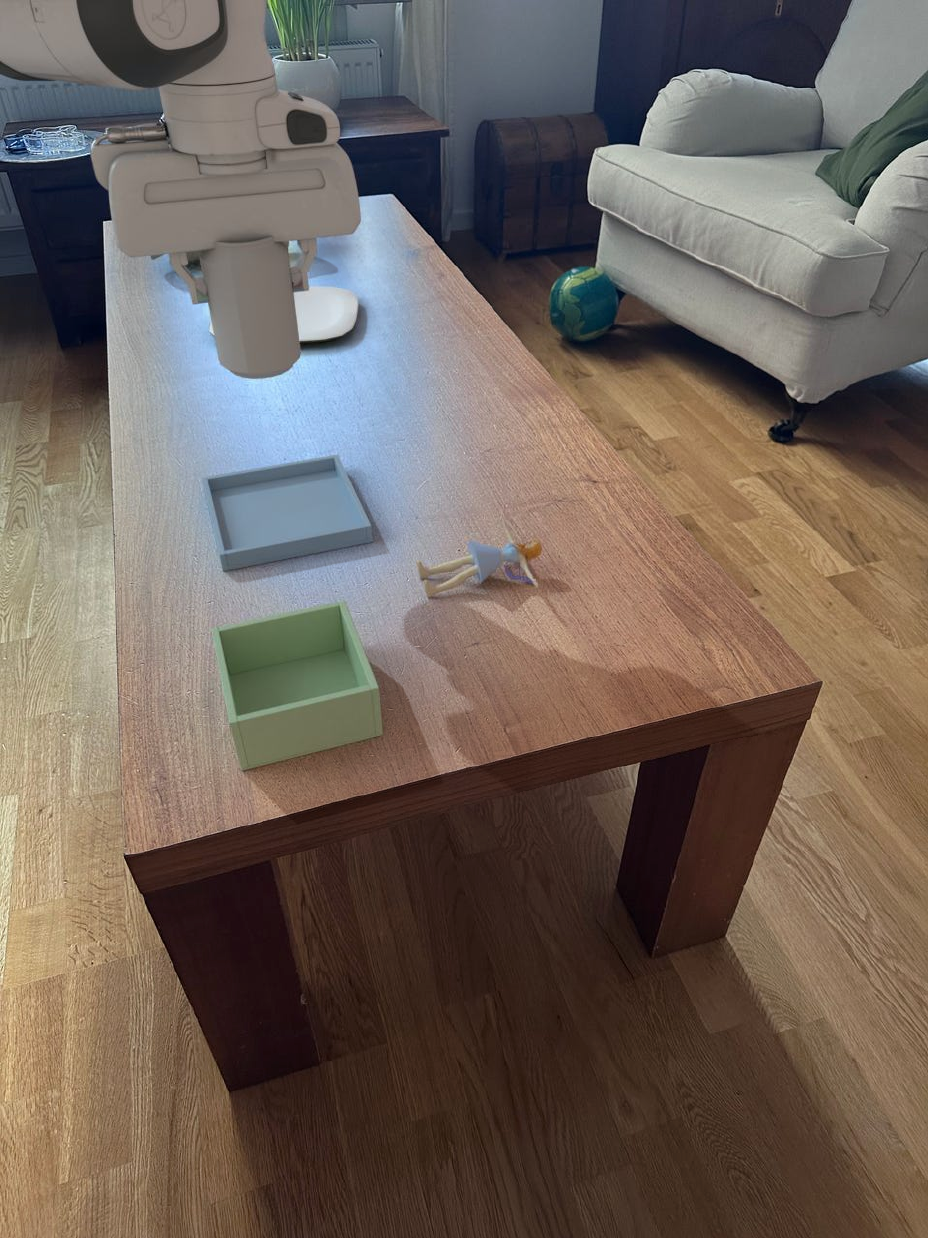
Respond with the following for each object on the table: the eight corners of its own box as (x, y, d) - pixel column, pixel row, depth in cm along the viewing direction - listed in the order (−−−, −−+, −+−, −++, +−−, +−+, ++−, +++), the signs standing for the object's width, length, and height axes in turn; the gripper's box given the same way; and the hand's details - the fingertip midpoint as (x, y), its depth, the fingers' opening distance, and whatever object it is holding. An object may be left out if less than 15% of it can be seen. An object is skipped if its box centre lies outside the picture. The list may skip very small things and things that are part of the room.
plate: (227, 296, 143) (225, 286, 142) (361, 294, 143) (361, 284, 142) (202, 352, 126) (200, 340, 125) (354, 349, 127) (353, 338, 126)
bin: (241, 771, 67) (229, 723, 64) (222, 675, 75) (210, 628, 72) (383, 735, 70) (379, 687, 67) (350, 646, 78) (344, 599, 75)
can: (310, 350, 85) (295, 218, 77) (290, 384, 79) (272, 245, 71) (234, 347, 85) (211, 215, 77) (209, 380, 79) (182, 242, 72)
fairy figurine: (405, 525, 86) (521, 496, 88) (412, 563, 90) (525, 534, 91) (432, 596, 78) (560, 563, 79) (439, 635, 81) (562, 602, 83)
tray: (223, 571, 87) (219, 555, 85) (204, 493, 98) (201, 477, 96) (373, 541, 90) (371, 525, 89) (339, 469, 101) (337, 454, 100)
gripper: (84, 137, 64) (130, 323, 73) (358, 117, 69) (370, 294, 78) (82, 119, 69) (127, 297, 77) (340, 102, 74) (354, 270, 83)
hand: (251, 295), depth 78 cm, fingers closed on can, 7 cm apart
